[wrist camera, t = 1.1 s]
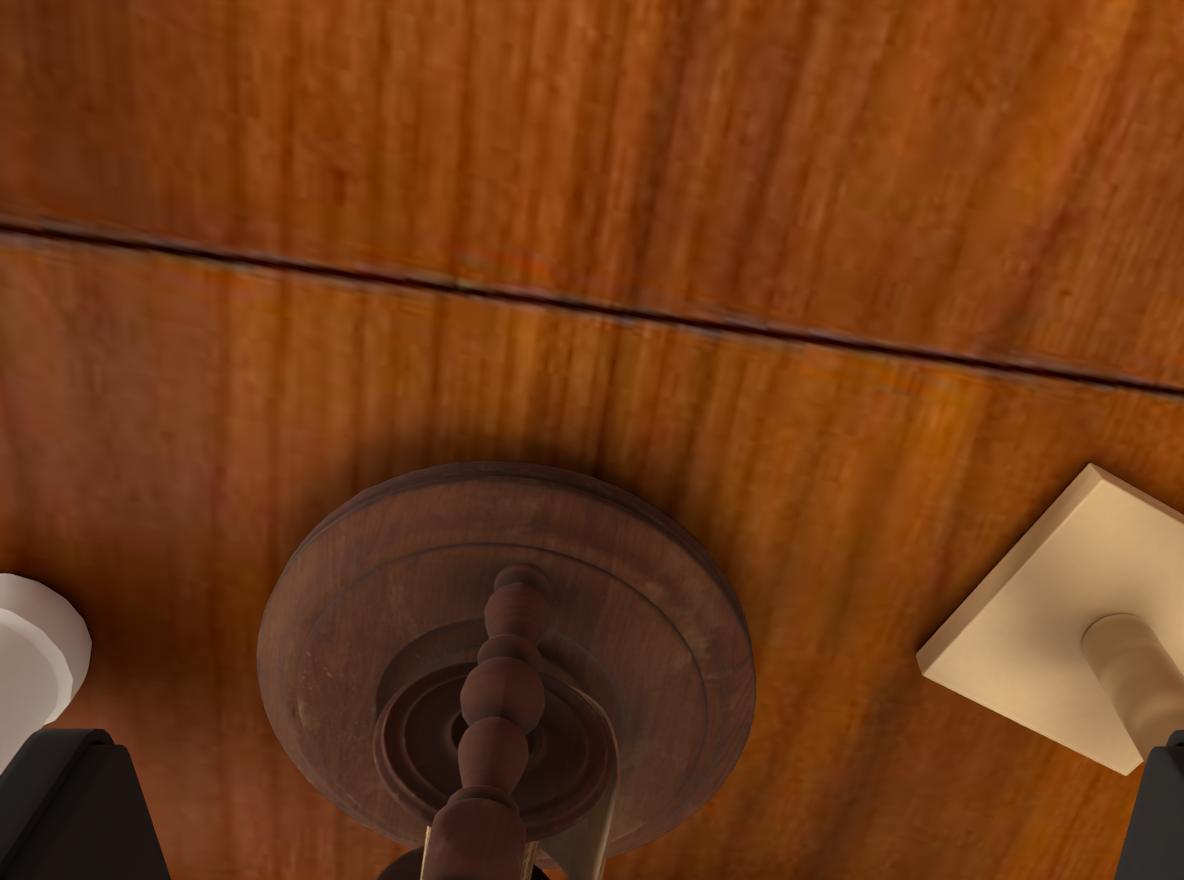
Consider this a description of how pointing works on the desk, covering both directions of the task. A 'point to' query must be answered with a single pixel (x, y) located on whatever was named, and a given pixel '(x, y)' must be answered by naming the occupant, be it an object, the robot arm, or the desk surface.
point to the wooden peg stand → (1079, 625)
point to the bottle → (36, 659)
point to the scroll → (507, 670)
